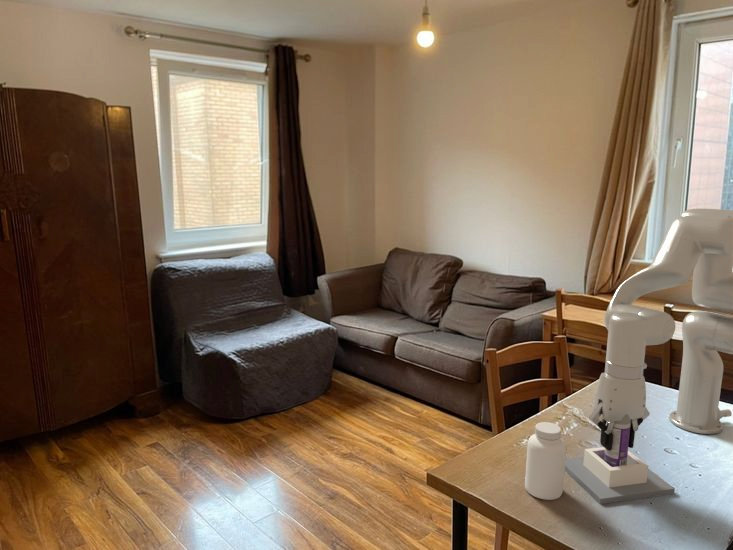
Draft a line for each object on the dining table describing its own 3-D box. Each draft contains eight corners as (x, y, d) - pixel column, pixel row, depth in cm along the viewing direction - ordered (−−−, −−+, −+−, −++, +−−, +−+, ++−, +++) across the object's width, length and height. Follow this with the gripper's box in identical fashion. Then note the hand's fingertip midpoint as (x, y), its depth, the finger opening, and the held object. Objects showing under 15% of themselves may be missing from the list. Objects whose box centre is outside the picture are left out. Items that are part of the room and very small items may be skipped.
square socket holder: (625, 456, 133) (627, 436, 132) (674, 493, 118) (676, 471, 117) (558, 464, 130) (560, 444, 129) (600, 504, 115) (601, 481, 114)
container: (621, 460, 125) (627, 399, 123) (629, 471, 121) (635, 408, 118) (600, 459, 126) (606, 398, 123) (607, 470, 121) (613, 407, 118)
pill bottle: (558, 505, 114) (563, 439, 111) (520, 493, 118) (523, 429, 115) (566, 487, 121) (571, 424, 118) (530, 476, 125) (534, 415, 122)
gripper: (645, 360, 124) (638, 434, 128) (578, 366, 121) (573, 442, 124) (670, 372, 117) (661, 450, 121) (599, 378, 114) (592, 458, 117)
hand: (616, 445), depth 122 cm, fingers closed on container, 4 cm apart
